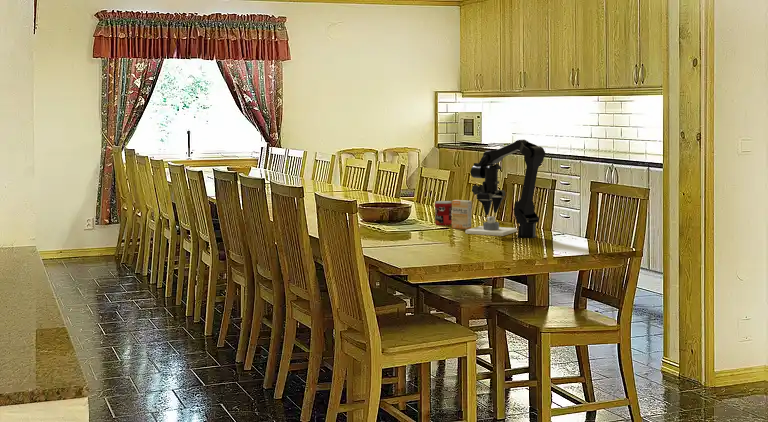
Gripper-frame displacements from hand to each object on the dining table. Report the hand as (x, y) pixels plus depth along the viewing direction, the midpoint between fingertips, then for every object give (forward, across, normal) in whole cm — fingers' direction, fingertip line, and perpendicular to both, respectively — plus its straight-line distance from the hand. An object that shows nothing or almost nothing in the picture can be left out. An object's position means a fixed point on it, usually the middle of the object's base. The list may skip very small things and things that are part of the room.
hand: (491, 213), depth 424 cm
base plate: (+8, 0, 0) cm, 8 cm away
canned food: (+9, -16, -32) cm, 37 cm away
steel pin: (+7, 0, 0) cm, 7 cm away
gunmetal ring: (+7, 0, 0) cm, 7 cm away
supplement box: (+9, -7, -18) cm, 21 cm away
